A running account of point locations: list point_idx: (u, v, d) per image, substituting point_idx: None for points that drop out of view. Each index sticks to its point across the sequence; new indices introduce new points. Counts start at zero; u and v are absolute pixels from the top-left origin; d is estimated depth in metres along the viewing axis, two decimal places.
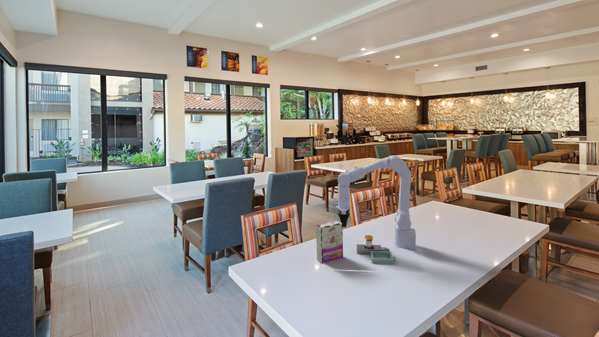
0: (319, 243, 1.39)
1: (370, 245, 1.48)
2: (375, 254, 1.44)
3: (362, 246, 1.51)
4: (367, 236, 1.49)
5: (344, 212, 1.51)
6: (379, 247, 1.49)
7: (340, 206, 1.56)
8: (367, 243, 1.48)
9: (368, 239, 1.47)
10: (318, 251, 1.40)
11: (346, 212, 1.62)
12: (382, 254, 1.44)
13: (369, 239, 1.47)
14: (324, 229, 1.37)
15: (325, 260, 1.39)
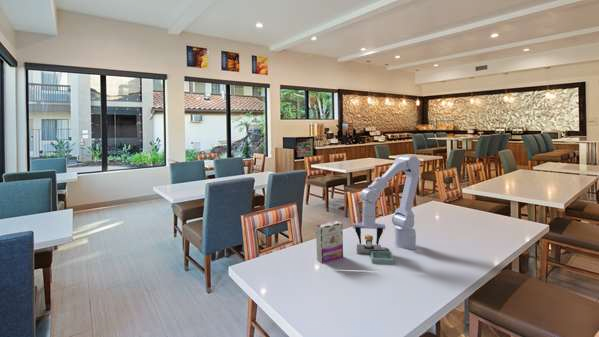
0: (319, 243, 1.39)
1: (370, 245, 1.48)
2: (375, 254, 1.44)
3: (362, 246, 1.51)
4: (367, 236, 1.49)
5: None
6: (379, 247, 1.49)
7: None
8: (367, 243, 1.48)
9: (368, 239, 1.47)
10: (318, 251, 1.40)
11: (377, 233, 1.47)
12: (382, 254, 1.44)
13: (369, 239, 1.47)
14: (324, 229, 1.37)
15: (325, 260, 1.39)
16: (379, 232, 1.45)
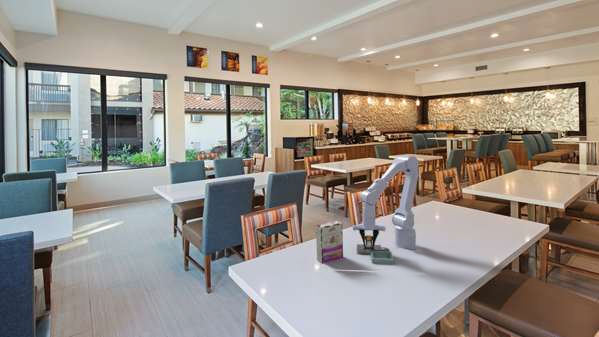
0: (319, 243, 1.39)
1: (370, 245, 1.48)
2: (375, 254, 1.44)
3: (362, 246, 1.51)
4: (367, 236, 1.49)
5: None
6: (379, 247, 1.49)
7: None
8: (367, 243, 1.48)
9: (368, 239, 1.47)
10: (318, 251, 1.40)
11: (373, 235, 1.47)
12: (382, 254, 1.44)
13: (369, 239, 1.47)
14: (324, 229, 1.37)
15: (325, 260, 1.39)
16: (375, 234, 1.46)
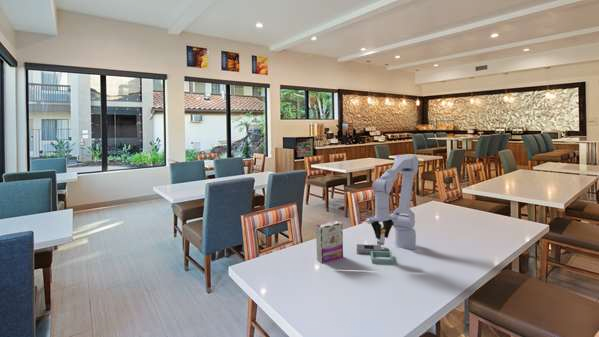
0: (319, 243, 1.39)
1: (384, 237, 1.39)
2: (375, 254, 1.44)
3: (362, 246, 1.51)
4: None
5: (367, 221, 1.36)
6: (379, 247, 1.49)
7: (375, 215, 1.39)
8: (381, 235, 1.38)
9: (383, 231, 1.37)
10: (318, 251, 1.40)
11: (387, 226, 1.38)
12: (382, 254, 1.44)
13: (384, 231, 1.37)
14: (324, 229, 1.37)
15: (325, 260, 1.39)
16: (390, 224, 1.37)
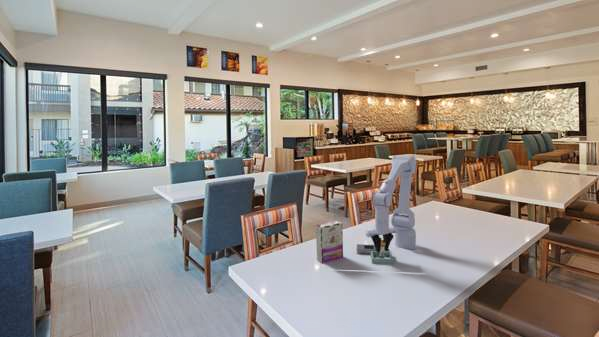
0: (319, 243, 1.39)
1: (384, 250, 1.39)
2: (375, 254, 1.44)
3: (362, 246, 1.51)
4: None
5: (367, 234, 1.36)
6: None
7: (375, 228, 1.40)
8: (381, 249, 1.39)
9: (383, 244, 1.38)
10: (318, 251, 1.40)
11: (387, 239, 1.39)
12: None
13: (384, 244, 1.38)
14: (324, 229, 1.37)
15: (325, 260, 1.39)
16: (390, 237, 1.38)
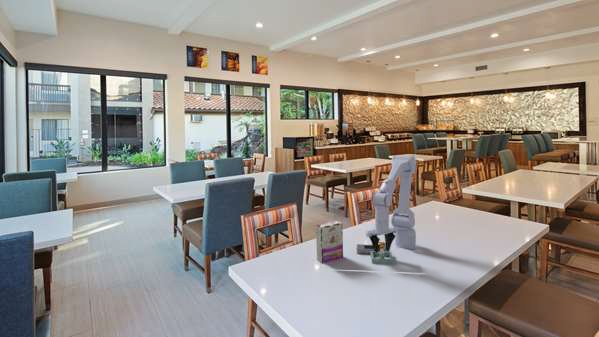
0: (319, 243, 1.39)
1: (383, 252, 1.40)
2: (375, 254, 1.44)
3: (362, 246, 1.51)
4: (379, 243, 1.40)
5: (367, 234, 1.36)
6: None
7: (375, 228, 1.40)
8: (381, 251, 1.39)
9: (382, 246, 1.39)
10: (318, 251, 1.40)
11: (388, 239, 1.39)
12: None
13: (383, 246, 1.39)
14: (324, 229, 1.37)
15: (325, 260, 1.39)
16: (392, 237, 1.38)
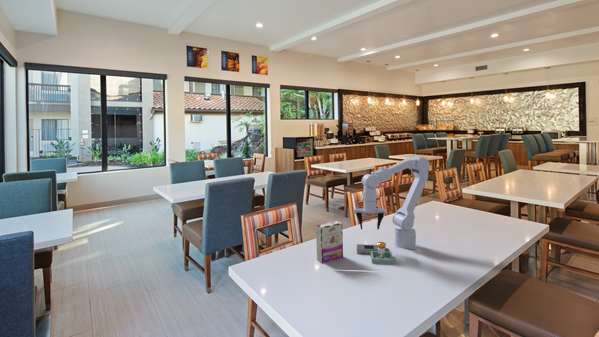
0: (319, 243, 1.39)
1: (384, 252, 1.40)
2: (375, 254, 1.44)
3: (362, 246, 1.51)
4: (380, 243, 1.40)
5: (354, 211, 1.51)
6: None
7: None
8: (381, 250, 1.39)
9: (383, 246, 1.39)
10: (318, 251, 1.40)
11: (378, 218, 1.49)
12: None
13: (384, 246, 1.39)
14: (324, 229, 1.37)
15: (325, 260, 1.39)
16: (380, 217, 1.48)
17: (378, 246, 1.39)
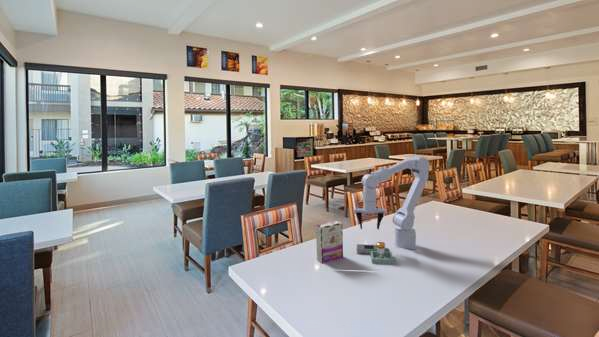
0: (319, 243, 1.39)
1: (383, 252, 1.40)
2: (375, 254, 1.44)
3: (362, 246, 1.51)
4: (379, 243, 1.40)
5: None
6: None
7: None
8: (380, 251, 1.39)
9: (382, 246, 1.38)
10: (318, 251, 1.40)
11: (377, 218, 1.49)
12: None
13: (383, 246, 1.39)
14: (324, 229, 1.37)
15: (325, 260, 1.39)
16: (380, 217, 1.48)
17: (377, 246, 1.39)
